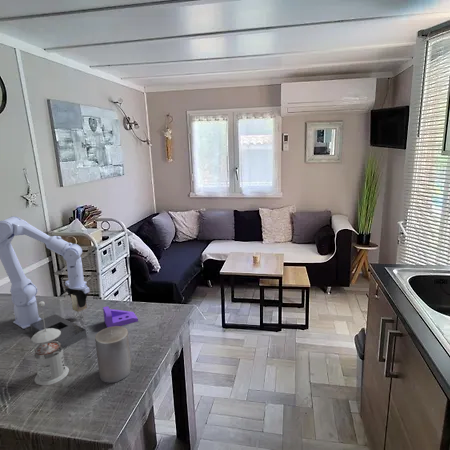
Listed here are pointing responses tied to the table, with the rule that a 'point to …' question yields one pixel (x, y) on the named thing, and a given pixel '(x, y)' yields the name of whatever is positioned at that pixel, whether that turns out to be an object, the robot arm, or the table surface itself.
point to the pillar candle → (113, 354)
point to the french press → (48, 355)
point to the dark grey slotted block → (61, 329)
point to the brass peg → (76, 305)
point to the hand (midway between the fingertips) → (79, 305)
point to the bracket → (118, 317)
